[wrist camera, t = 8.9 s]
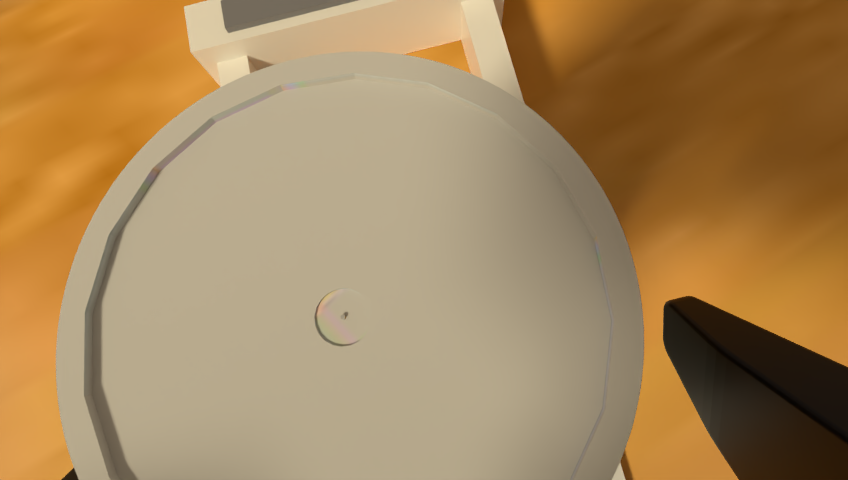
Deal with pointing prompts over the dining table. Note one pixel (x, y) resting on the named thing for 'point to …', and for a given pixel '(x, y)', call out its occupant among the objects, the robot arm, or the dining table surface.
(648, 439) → the dining table surface
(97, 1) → the dining table surface
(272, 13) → the dock
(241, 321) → the bottle
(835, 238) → the dining table surface
